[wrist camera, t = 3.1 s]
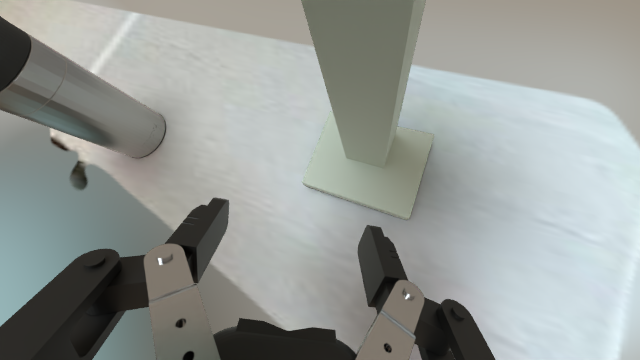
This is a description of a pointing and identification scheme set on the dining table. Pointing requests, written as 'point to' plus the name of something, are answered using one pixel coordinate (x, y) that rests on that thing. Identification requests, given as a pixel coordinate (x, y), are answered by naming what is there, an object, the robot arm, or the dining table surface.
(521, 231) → the dining table surface
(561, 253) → the dining table surface
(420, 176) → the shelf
